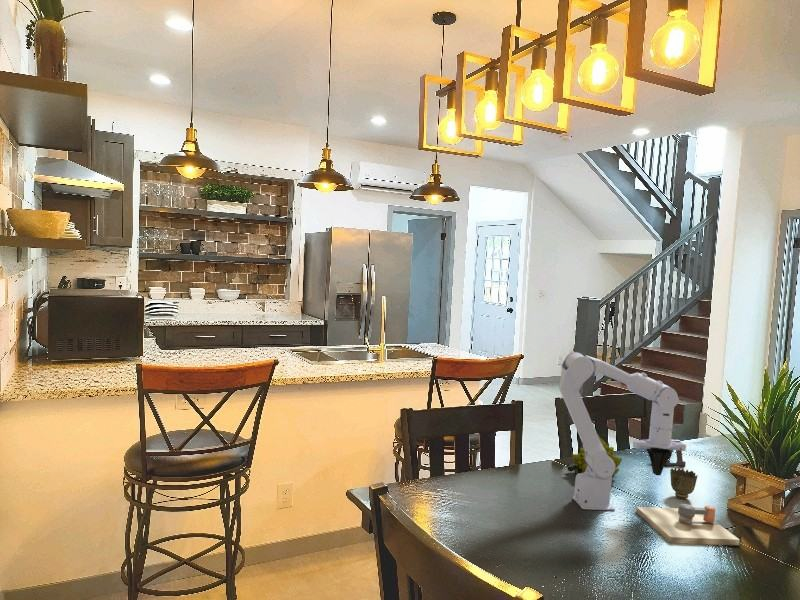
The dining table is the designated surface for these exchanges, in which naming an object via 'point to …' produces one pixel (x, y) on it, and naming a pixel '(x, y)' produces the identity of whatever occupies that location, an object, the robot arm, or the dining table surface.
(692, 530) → the base
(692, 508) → the lock lever
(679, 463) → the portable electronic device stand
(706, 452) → the dining table surface
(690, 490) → the cup
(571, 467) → the vegetable
